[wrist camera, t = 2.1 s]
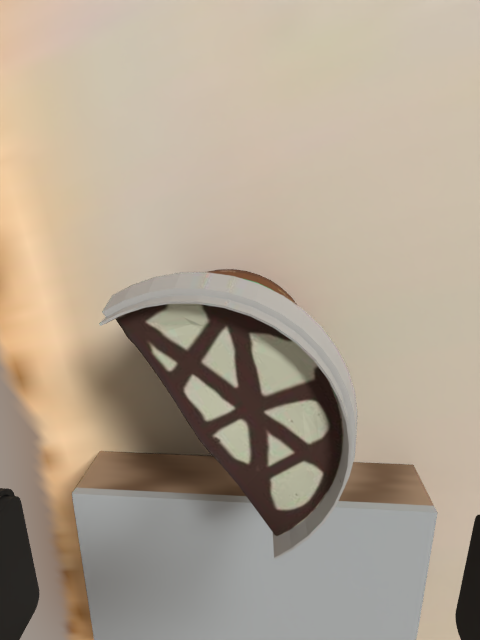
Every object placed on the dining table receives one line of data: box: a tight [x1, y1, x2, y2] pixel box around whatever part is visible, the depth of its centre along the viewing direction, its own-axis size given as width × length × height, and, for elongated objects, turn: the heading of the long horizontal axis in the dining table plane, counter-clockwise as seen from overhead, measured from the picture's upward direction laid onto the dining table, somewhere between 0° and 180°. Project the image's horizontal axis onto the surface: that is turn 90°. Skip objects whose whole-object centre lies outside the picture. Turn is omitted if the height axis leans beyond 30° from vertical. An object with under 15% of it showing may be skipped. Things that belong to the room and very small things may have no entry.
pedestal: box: [72, 451, 437, 640], centre depth 27 cm, size 20×14×4 cm
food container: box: [99, 269, 357, 559], centre depth 19 cm, size 12×6×10 cm, turn 33°
